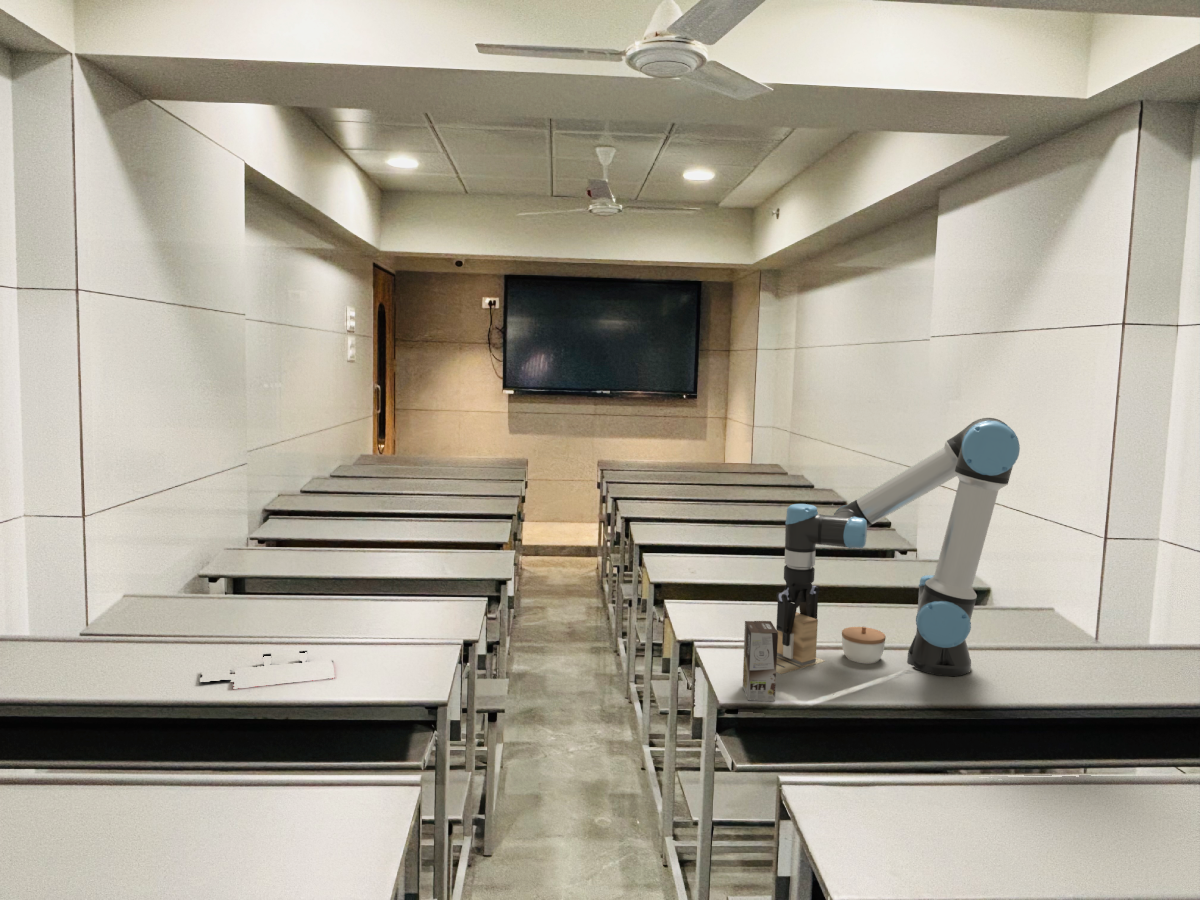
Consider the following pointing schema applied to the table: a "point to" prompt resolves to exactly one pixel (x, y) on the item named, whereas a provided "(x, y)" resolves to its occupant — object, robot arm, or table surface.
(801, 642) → the block
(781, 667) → the board
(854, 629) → the lidded jar
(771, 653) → the coffee box
